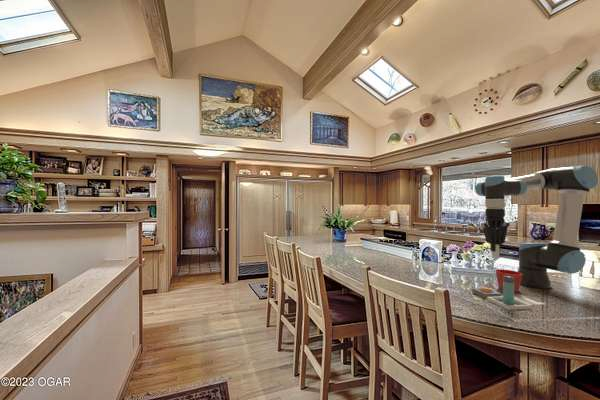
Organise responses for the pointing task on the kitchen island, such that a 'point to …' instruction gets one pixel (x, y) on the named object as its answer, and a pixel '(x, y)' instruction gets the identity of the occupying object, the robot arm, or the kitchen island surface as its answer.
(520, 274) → the flower pot
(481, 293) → the button box
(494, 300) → the tray
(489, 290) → the button
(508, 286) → the tall green block
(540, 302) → the clipboard
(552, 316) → the kitchen island surface
